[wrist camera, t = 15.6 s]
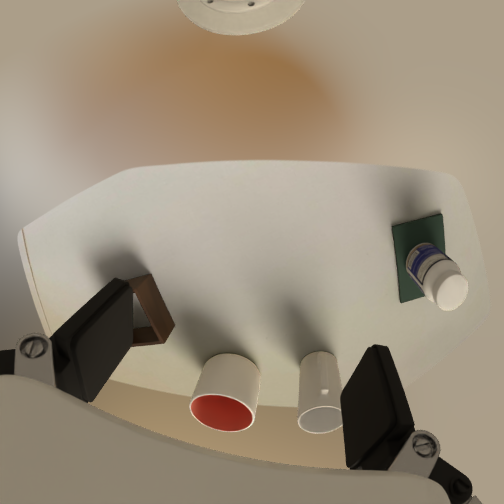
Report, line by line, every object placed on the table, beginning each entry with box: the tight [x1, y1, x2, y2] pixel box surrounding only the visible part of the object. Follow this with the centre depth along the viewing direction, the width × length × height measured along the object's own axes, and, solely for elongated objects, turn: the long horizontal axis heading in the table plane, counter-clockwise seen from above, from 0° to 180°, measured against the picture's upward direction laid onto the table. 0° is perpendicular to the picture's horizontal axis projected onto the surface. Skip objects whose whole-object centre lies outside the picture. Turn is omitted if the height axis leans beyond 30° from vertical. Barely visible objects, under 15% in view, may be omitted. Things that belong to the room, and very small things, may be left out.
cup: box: [189, 353, 261, 432], centre depth 43 cm, size 10×10×10 cm
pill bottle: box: [406, 243, 468, 311], centre depth 32 cm, size 6×6×10 cm
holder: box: [125, 274, 175, 347], centre depth 43 cm, size 10×10×5 cm
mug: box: [298, 351, 343, 434], centre depth 39 cm, size 10×7×12 cm, turn 4°
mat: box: [392, 214, 445, 303], centre depth 36 cm, size 12×8×1 cm, turn 17°
